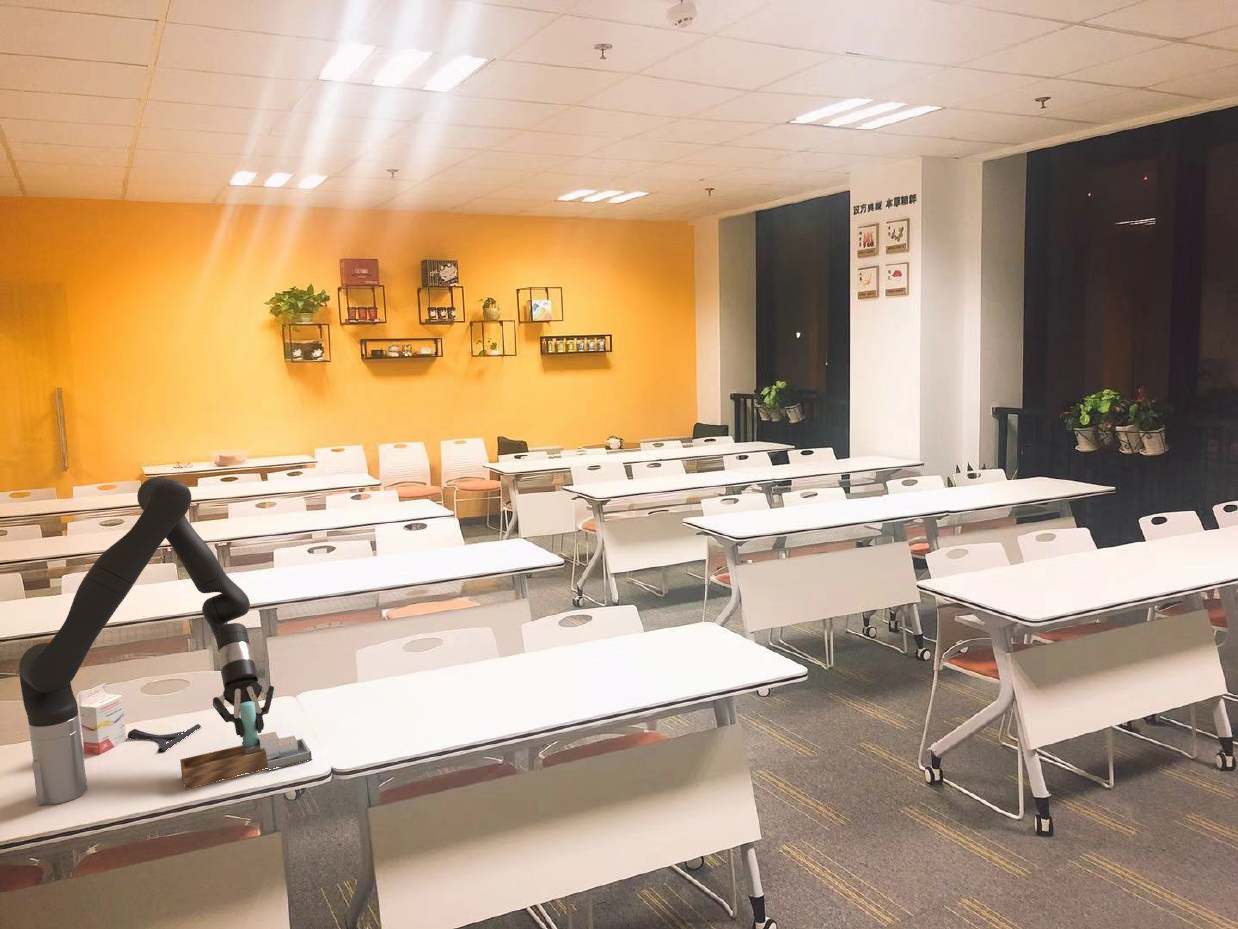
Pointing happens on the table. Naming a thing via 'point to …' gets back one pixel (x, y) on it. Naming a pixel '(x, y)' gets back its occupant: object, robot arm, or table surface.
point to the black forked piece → (162, 737)
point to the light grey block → (269, 743)
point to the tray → (291, 757)
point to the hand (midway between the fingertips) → (251, 733)
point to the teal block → (249, 728)
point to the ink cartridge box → (101, 720)
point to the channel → (220, 766)
